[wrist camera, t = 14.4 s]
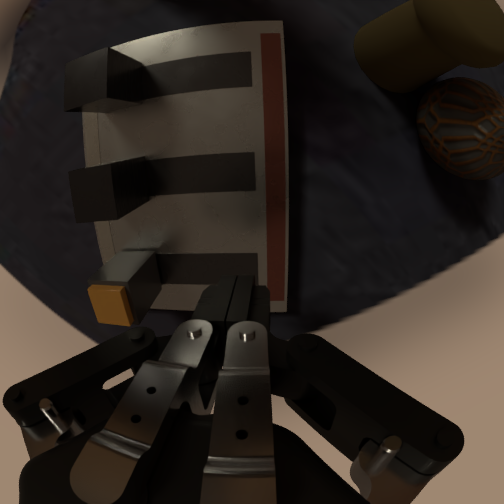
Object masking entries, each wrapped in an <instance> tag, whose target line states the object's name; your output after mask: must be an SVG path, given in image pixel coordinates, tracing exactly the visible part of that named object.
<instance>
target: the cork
mask: <svg viewBox="0 0 504 504" xmlns="http://www.w3.org/2000/svg"><path fill="white" fill-rule="evenodd" d="M354 51H355V57H356V59H357V61H358V63H359V65H360V67H361V69H362V70H363V72H364V73H365V74H366V75H367V76H368V77H369V79H370V80H372V81H373V82H374V83H376V84H377V85H378V86H380V87H381V88H384V89H386V90H389V91H391V92H395V93H407V92H411V91H414V90H416V89H418V88H420V87H421V86H423V85H425V84H427V83H428V82H430V81H432V80H434V79H435V78H437V77H439V76H441V75H443V74H444V73H446V72H448V71H450V70H452V69H453V68H455V67H457V66H459V65H461V64H463V65H467V66H470V67H474V68H488V67H495V66H497V65H499V64H501V63H502V62H503V61H504V13H503V11H502V9H501V8H500V6H499V5H498V4H497V3H496V1H495V0H410V1H408V2H406V3H404V4H402V5H400V6H398V7H396V8H394V9H392V10H390V11H389V12H387V13H385V14H383V15H381V16H380V17H378V18H376V19H374V20H373V21H371V22H369V23H368V24H366V25H364V26H363V27H361V28H360V29H359V31H358V32H357V34H356V35H355V40H354Z"/></svg>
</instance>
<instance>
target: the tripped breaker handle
mask: <svg viewBox="0 0 504 504" xmlns="http://www.w3.org/2000/svg"><path fill="white" fill-rule="evenodd" d="M87 281H88V284H89V288H88V289H87V290H88V293H89V296H90V299H91V302H92V305H93V308H94V311H95V314H96V317H97V319H98V322H99V323H107V324H115V325H123V326H131V324H136V325H140V323H141V321H142V320H143V318H144V317H145V315H146V313H147V312H148V310H149V309H150V307H151V305H152V304H153V302H154V301H155V299H156V298H157V296H158V295H159V293H160V291H161V290H162V287H161V282H160V277H159V271H158V266H157V260H156V255H155V251H132V252H118V253H117V254H115V255H114V256H113V257H112V258H111V259H110V260H109V261H108V262H106V263H105V264H104V265H103V266H102V267H101V268H100V269H99V270H97V271H96V272H95V273H94V274H93V275H92V276H91V277H90V278H89V279H88V280H87Z"/></svg>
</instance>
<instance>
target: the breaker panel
mask: <svg viewBox="0 0 504 504" xmlns="http://www.w3.org/2000/svg"><path fill="white" fill-rule="evenodd" d="M64 112H82V114H83V137H84V150H85V161H86V167H85V168H81V169H77V170H73V171H69V172H68V173H69V181H70V188H71V195H72V201H73V207H74V213H75V218H76V223H84V222H94V224H95V229H96V234H97V239H98V243H99V248H100V252H101V257H102V261H103V265H104V264H105V263H106V262H108V261H109V260H110V259H111V258H112V257H113V256H114V255H115V254H117V253H118V252H132V251H155V255H156V260H157V266H158V271H159V277H160V282H161V287H162V290H161V291H160V293H159V295H158V296H157V298H156V299H155V301H154V302H153V304H152V305H151V307H150V308H152V309H169V310H190V311H194V310H195V308H196V306H197V304H198V301H199V299H200V297H201V294H202V292H203V290H205V289H206V288H207V287H208V286H210V285H218V282H219V279H220V277H221V275H255V285H266V287H267V288H268V289H269V291H270V312H287V285H288V237H289V162H288V116H287V88H286V67H285V49H284V33H283V21H247V22H232V23H222V24H213V25H205V26H198V27H192V28H186V29H181V30H175V31H170V32H166V33H161V34H157V35H153V36H149V37H145V38H141V39H138V40H134V41H131V42H127V43H124V44H121V45H118V46H115V47H112V48H109V47H106V48H103V49H101V50H98V51H95V52H93V53H90V54H88V55H85V56H83V57H80V58H78V59H76V60H73V61H71V62H69V63H67V64H66V65H65V85H64Z"/></svg>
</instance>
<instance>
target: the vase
mask: <svg viewBox="0 0 504 504" xmlns="http://www.w3.org/2000/svg"><path fill="white" fill-rule="evenodd" d="M416 123H417V130H418V135H419V138H420V140H421V143H422V145H423V147H424V148H425V150H426V151H427V153H428V154H429V156H430V157H431V158H432V159H433V160H434V161H435V162H436V163H437V164H438V165H439V166H440V167H442V168H443V169H445V170H446V171H448V172H449V173H452V174H454V175H456V176H459V177H461V178H465V179H469V180H485V179H490V178H494V177H496V176H498V175H500V174H502V173H503V172H504V98H503V97H502V96H501V95H500V94H499V93H498V92H497V91H496V90H494V89H493V88H492V87H490V86H488V85H487V84H485V83H483V82H480V81H478V80H474V79H470V78H464V77H455V78H449V79H446V80H443V81H440V82H438V83H436V84H434V85H433V86H432V87H431V88H429V89H428V90H427V92H426V93H425V94H424V95H423V97H422V99H421V101H420V103H419V106H418V109H417V116H416Z"/></svg>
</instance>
